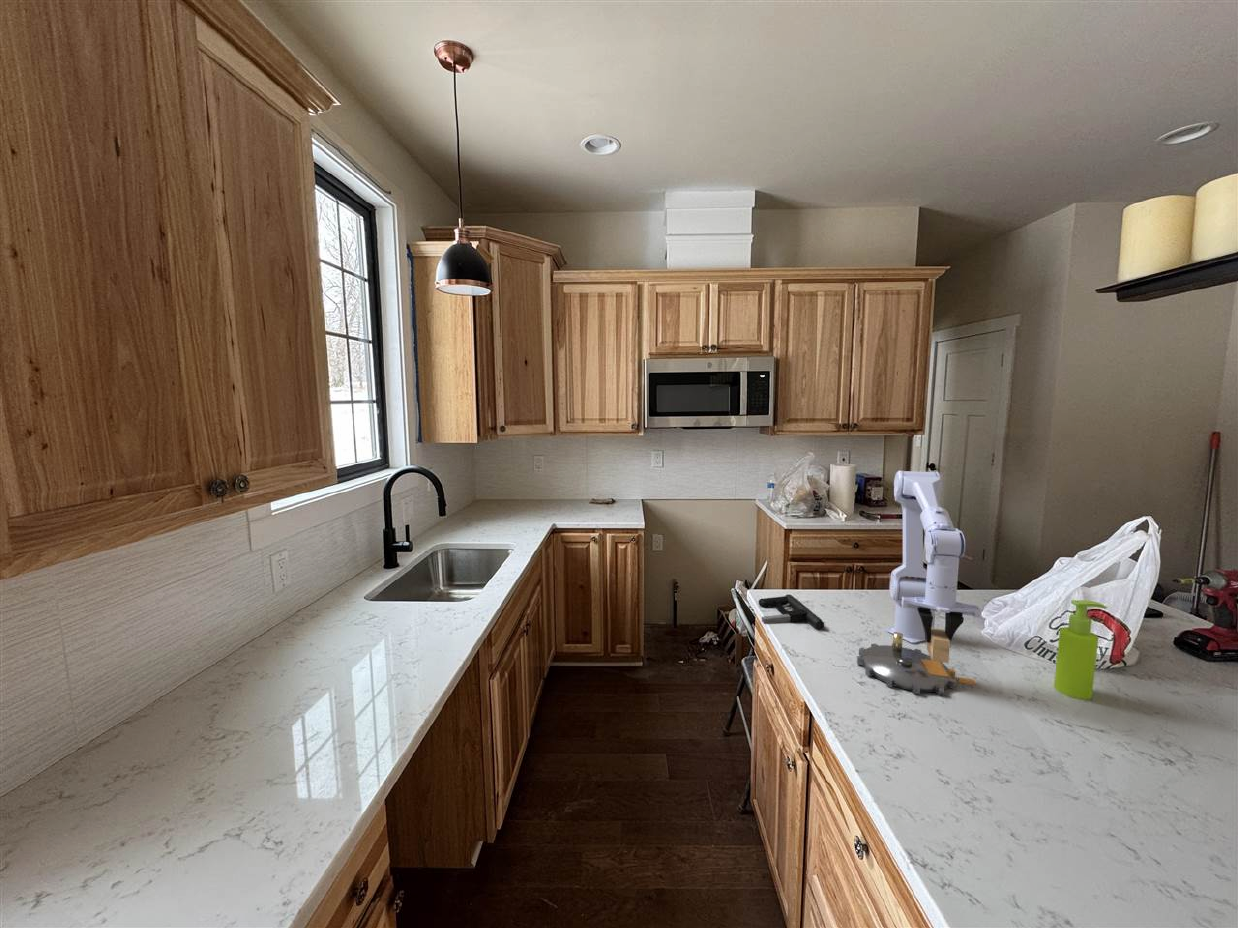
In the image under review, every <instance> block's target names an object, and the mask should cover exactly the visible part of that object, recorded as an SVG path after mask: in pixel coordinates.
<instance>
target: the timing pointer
mask: <svg viewBox="0 0 1238 928" xmlns="http://www.w3.org/2000/svg"><path fill="white" fill-rule="evenodd" d="M957 681H958V682H959V683H963V684H969V685H976V681H975V679H972V678H965V677H960V676H957Z"/></svg>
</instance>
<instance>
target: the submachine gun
mask: <svg viewBox="0 0 1238 928" xmlns="http://www.w3.org/2000/svg"><path fill="white" fill-rule="evenodd" d="M758 605H759V607H761V608H763V609H764V608H773V607H774V608H775V609H776V610H777V611H778V612H779V613H780V614H774V615H767V616H761V622H762V623H763V624H765V625H766V624H780V623H781V624H782V623H791V624H798V623H809V624H810V626H812V627H813V628H815V629H816V630H822V629H824V627H825V623H826V621H823V620H822V618H820V617H819V616H818V615H816V613H815V612H813V611H812V610H811V609H809V608H808V607H807V606H805V605H804V604H803V603H802V602H801V601H799V599H798V598H796V597H795V596H793V595H792V594H785V595H783V596H777V597H776V596H774V597H767V598H760V599H759V600H758ZM787 607H790V608H791V610H787Z"/></svg>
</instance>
